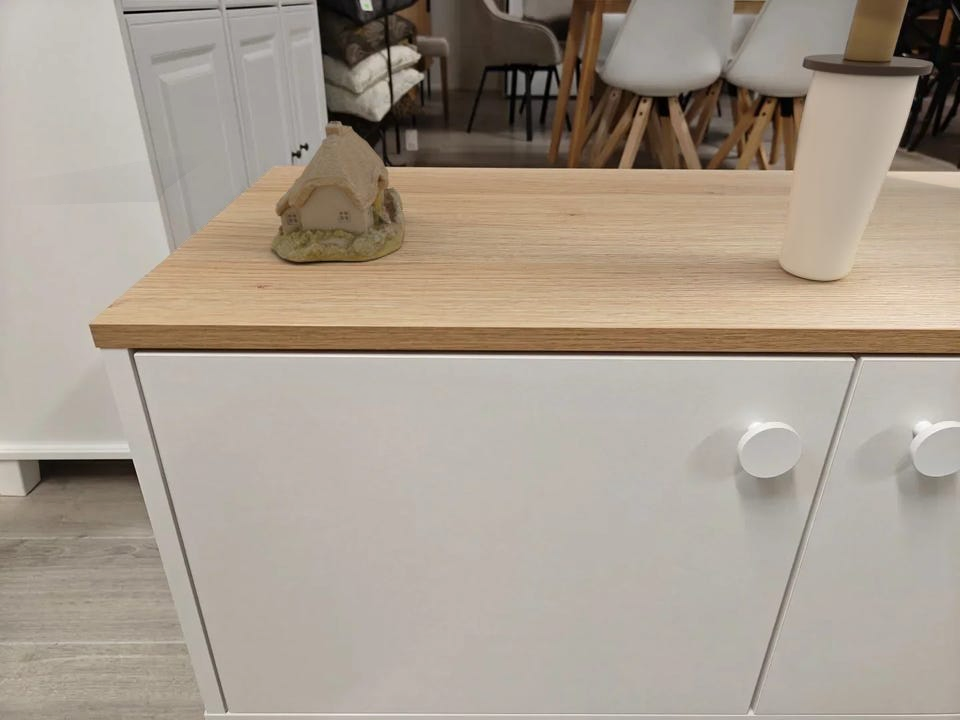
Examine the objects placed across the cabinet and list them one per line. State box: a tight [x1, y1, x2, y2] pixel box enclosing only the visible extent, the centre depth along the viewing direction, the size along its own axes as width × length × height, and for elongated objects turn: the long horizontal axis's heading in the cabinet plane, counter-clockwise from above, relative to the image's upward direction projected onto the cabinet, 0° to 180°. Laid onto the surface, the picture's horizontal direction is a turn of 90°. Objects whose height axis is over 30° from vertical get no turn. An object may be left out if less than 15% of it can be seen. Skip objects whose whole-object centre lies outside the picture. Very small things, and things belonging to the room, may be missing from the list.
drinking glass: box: [778, 70, 920, 282], centre depth 51 cm, size 7×7×15 cm
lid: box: [802, 0, 934, 77], centre depth 45 cm, size 8×8×6 cm
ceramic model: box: [270, 120, 406, 263], centre depth 58 cm, size 14×11×10 cm
